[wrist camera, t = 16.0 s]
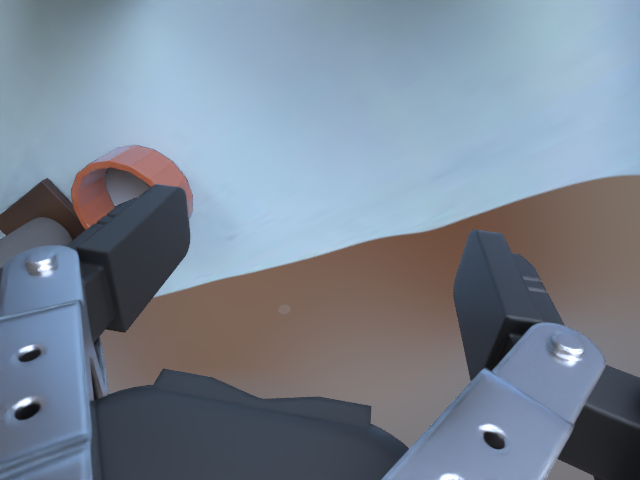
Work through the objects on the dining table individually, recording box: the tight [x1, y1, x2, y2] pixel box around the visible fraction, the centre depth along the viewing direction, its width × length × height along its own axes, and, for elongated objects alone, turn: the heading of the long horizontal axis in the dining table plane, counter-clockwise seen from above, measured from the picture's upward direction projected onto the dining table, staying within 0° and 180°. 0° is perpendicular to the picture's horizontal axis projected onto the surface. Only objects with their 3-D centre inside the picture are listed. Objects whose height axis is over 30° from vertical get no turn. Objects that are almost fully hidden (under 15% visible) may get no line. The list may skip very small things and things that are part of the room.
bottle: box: [0, 217, 72, 268], centre depth 45 cm, size 6×6×15 cm
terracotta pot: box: [71, 145, 193, 230], centre depth 45 cm, size 11×11×5 cm
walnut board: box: [0, 178, 86, 240], centre depth 52 cm, size 11×11×1 cm
